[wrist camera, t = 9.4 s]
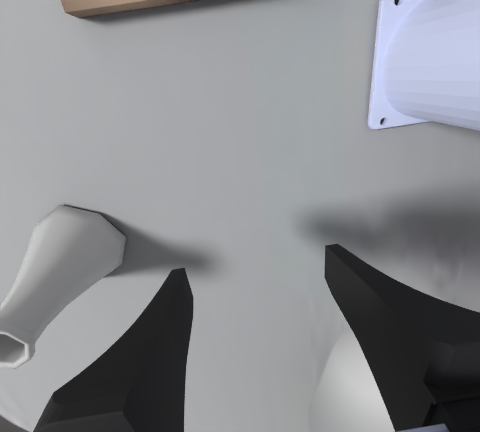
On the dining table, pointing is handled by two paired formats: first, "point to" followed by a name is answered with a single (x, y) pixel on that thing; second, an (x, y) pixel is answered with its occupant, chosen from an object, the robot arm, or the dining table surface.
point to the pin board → (110, 6)
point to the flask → (55, 276)
